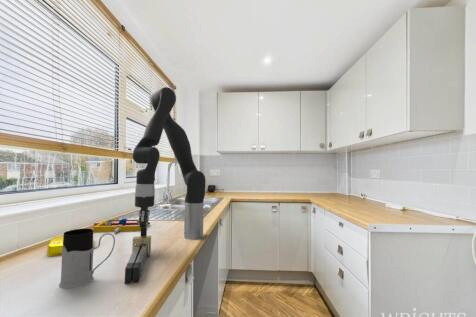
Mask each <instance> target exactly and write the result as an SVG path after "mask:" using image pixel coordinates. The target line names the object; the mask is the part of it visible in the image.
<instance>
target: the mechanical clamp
mask: <svg viewBox="0 0 476 317" xmlns="http://www.w3.org/2000/svg"><path fill="white" fill-rule="evenodd" d="M150 225H151V222H150V221H148V226H150ZM92 229H93V232H95V233H114V234H116V233H131V232H136V233H137V232H138V233H139V232H141V228H140V224H139V218H137V219H128V218H126V217H125V218H122V219H105V220H102V221H101V222H95V223H93V228H92Z"/></svg>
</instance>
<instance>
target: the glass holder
mask: <svg viewBox="0 0 476 317" xmlns="http://www.w3.org/2000/svg"><path fill="white" fill-rule="evenodd" d="M106 235H108V236H111V237H112V238H113V243H112V244H113V245H112V248H111V250H110V252H109V253H108V256H106V258H105V259H103V260H102V261H101V262H100V263H99V264H97V265H96V266H95V267H94V268H93V264H94V250H95V249H98V248H100V246H101V240H102V238H103V237H105V236H106ZM62 236H63V242H62V255H61V267H60V268H61V270H60V271H61V272H60V282H59V284H58V287H59V288H60V289H61V290H62V289H63V290H71V289H77V288H81V287H84V286H87V285H89V284H90V283H92V282H93V281H94V278H95V277H94V273H95V270H97V269H98V268H99V267H100V266H101V265H102V264H103V263H104V262H106V261H107V260H108V258H110V257H111V255H112V253H113V251H114V248H115V244H116V237H115V235H113V234H112V233H111V232H105V233H104V234H102V235H101V236H100V237H99V239H98V245H97V246H95V247H94V233H93V228H78V229H77V228H75V229H70V230H67V231H65V232H64V233H63V235H62Z"/></svg>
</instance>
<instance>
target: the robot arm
mask: <svg viewBox="0 0 476 317" xmlns="http://www.w3.org/2000/svg"><path fill="white" fill-rule="evenodd" d="M176 100H177V96H176V93H175V91H174V90H173V89H172V88H170V87H168V86H165V87H162V88H160V89H158V90H157V91H155V92H153V93H152V94H151V95H150V103H151V106H152V108H153V110H154V113H153V115H152V117H151V118H150V119H149V121H148V122H147V125H146V126H145V130H144V132H143V136H142V138H141V139H140V140H139V142H138V143H137V145H136V146H135V147H134V149H133V151H132V159H133V161H134V163H136V164H139V165H141V164H142V165H143V164H145V165H146V167H145V168H142V169H139V170H137V171H136V177H135V178H136V181H135V182H136V183H135V193H134V207H135V208H140V210H139V211H138V219H139V224H140V228H141V231H140V236H148V234H147V233H148V232H147V231H148V226H149V225H148V222H150V221H149V220H150V214H151V210H150V209H149V208H152V207H154V206H155V189H156V188H155V187H156V186H155V176H156V171H157V167H158V164H159V161H160V150H159V149H158V148H157V147H156V146H158V145H159V144H160V141H161V138H162V134H163V131H164V133H165V134H166V138H167V140H168V143H169V145H170V147H171V150H172V152H173V155H174V157H175V159H176V161H177V162H178V166H179V168H180V171H181V174H182V178H183V181H184V184H185V185H186V194H185V197H184V220H183V221H184V223H183V224H184V226H183V227H184V228H183V238H184V239H186V240H199V239H203V238H204V201H205V196H206V183H207V182H206V176H205V174H204V173H203V172H202V171H200V170H198V169H197V167H196V165H195V162H194V160H193V156H192V148H191V144H190V141H189V138H188V135H187V133H186V131H185V130H184V128H183V127H182V126H181V125H180V124H178V123H177V122H176V121H175V120H174V119H173V117H172V115H171V111H172V110H173V107H174V106H175V104H176V102H177V101H176Z"/></svg>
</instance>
